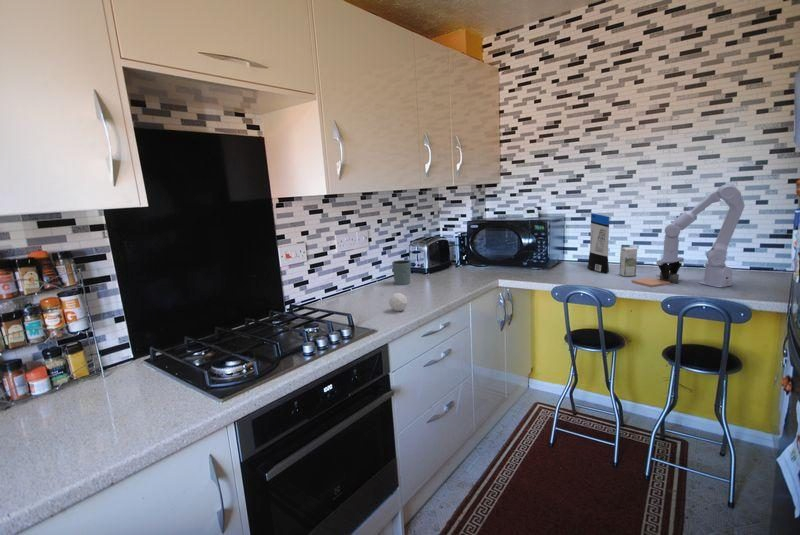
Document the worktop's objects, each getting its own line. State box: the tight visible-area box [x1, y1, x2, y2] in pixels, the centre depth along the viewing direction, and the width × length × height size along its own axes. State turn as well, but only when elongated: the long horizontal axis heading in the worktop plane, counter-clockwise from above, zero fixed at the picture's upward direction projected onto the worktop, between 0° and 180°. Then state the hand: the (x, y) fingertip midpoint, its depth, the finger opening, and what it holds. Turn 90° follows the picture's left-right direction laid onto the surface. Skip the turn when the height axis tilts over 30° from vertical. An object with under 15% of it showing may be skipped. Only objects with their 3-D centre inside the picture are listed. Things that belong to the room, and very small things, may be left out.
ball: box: [388, 292, 408, 312], centre depth 178 cm, size 8×8×8 cm
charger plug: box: [655, 271, 680, 285], centre depth 197 cm, size 10×4×4 cm, turn 18°
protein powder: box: [587, 212, 610, 275], centre depth 227 cm, size 10×24×30 cm, turn 176°
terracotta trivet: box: [631, 277, 671, 288], centre depth 196 cm, size 11×11×1 cm
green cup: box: [391, 259, 412, 286], centre depth 225 cm, size 10×10×12 cm
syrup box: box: [619, 246, 638, 277], centre depth 211 cm, size 6×6×14 cm
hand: (668, 278), depth 196 cm, fingers open, 4 cm apart
